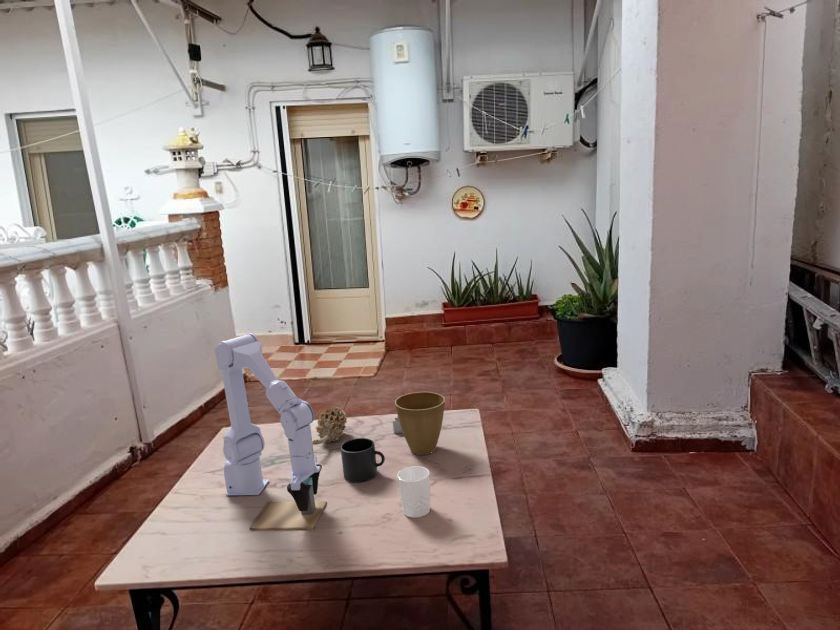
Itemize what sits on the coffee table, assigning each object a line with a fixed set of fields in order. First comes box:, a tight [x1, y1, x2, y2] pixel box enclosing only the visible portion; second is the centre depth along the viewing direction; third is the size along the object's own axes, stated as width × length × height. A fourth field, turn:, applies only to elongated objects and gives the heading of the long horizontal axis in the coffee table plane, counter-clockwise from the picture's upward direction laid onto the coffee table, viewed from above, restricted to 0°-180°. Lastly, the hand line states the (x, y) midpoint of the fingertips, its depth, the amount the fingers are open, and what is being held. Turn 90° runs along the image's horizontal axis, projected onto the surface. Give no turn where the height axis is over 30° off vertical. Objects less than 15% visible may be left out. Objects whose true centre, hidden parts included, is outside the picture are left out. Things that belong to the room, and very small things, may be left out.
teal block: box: [301, 477, 316, 515], centre depth 149 cm, size 3×3×9 cm
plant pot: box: [394, 391, 446, 456], centre depth 179 cm, size 15×15×16 cm
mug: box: [340, 437, 386, 483], centre depth 167 cm, size 9×12×9 cm
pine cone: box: [312, 406, 348, 446], centre depth 189 cm, size 22×10×10 cm, turn 173°
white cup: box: [396, 465, 431, 519], centre depth 146 cm, size 8×8×10 cm
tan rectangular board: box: [248, 500, 328, 531], centre depth 149 cm, size 16×12×1 cm
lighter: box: [392, 415, 403, 435], centre depth 194 cm, size 7×2×8 cm, turn 93°
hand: (308, 502), depth 149 cm, fingers open, 7 cm apart
